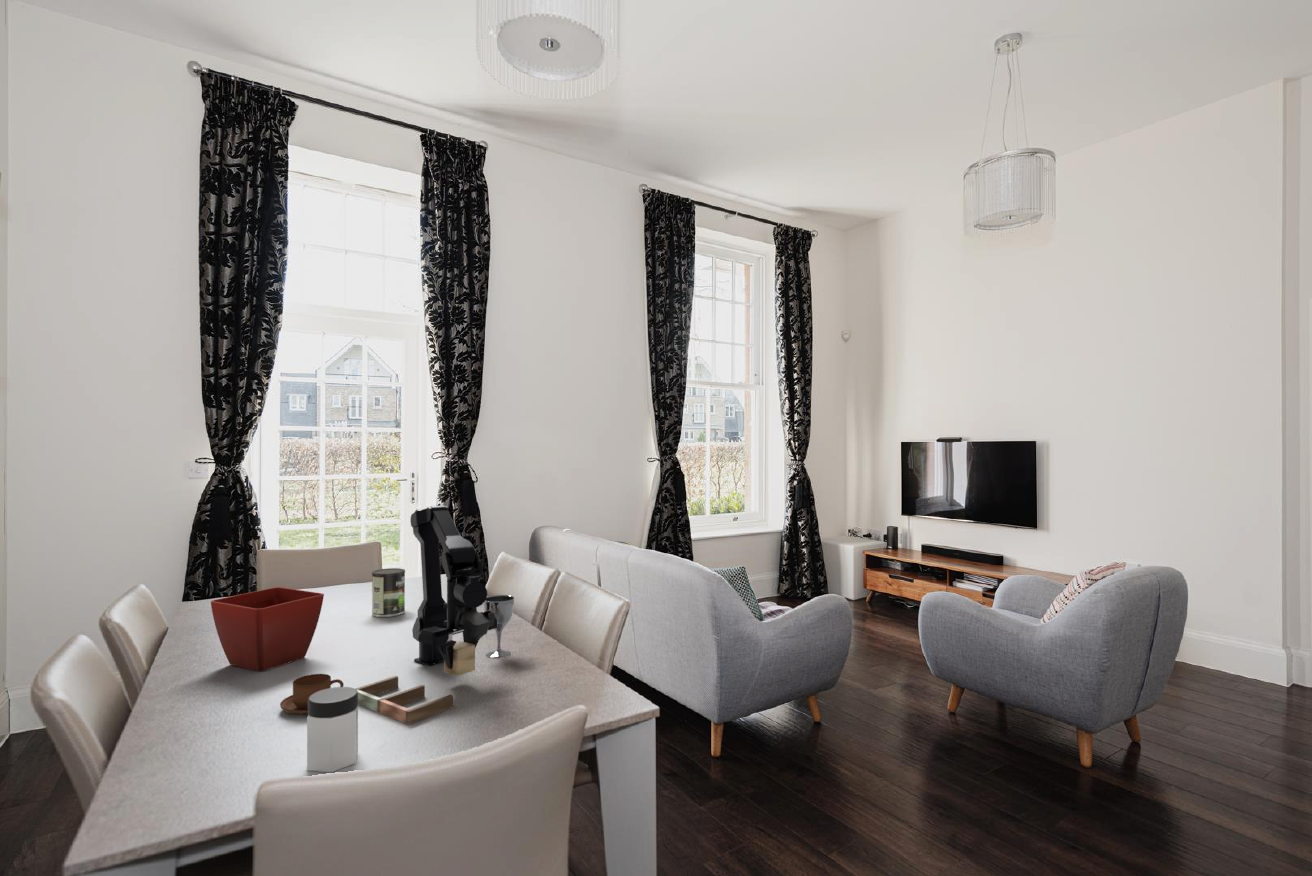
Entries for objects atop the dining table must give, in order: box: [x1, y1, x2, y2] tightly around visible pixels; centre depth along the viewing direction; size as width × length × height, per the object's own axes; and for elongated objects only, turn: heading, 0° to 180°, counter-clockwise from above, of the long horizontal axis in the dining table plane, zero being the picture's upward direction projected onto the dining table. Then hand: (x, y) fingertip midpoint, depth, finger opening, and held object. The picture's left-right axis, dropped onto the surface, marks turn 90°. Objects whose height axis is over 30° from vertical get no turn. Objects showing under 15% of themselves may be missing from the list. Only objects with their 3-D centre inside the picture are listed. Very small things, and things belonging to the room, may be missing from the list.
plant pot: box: [210, 586, 325, 672], centre depth 178 cm, size 19×19×17 cm
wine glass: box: [483, 594, 515, 659], centre depth 184 cm, size 8×8×15 cm
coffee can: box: [371, 567, 406, 618], centre depth 227 cm, size 10×10×14 cm
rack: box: [355, 675, 454, 725], centre depth 149 cm, size 21×11×2 cm, turn 54°
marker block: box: [443, 640, 476, 677], centre depth 161 cm, size 5×5×6 cm
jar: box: [306, 686, 359, 773], centre depth 122 cm, size 9×8×12 cm
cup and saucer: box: [280, 673, 345, 715], centre depth 147 cm, size 12×12×6 cm
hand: (459, 665), depth 161 cm, fingers closed on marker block, 5 cm apart
